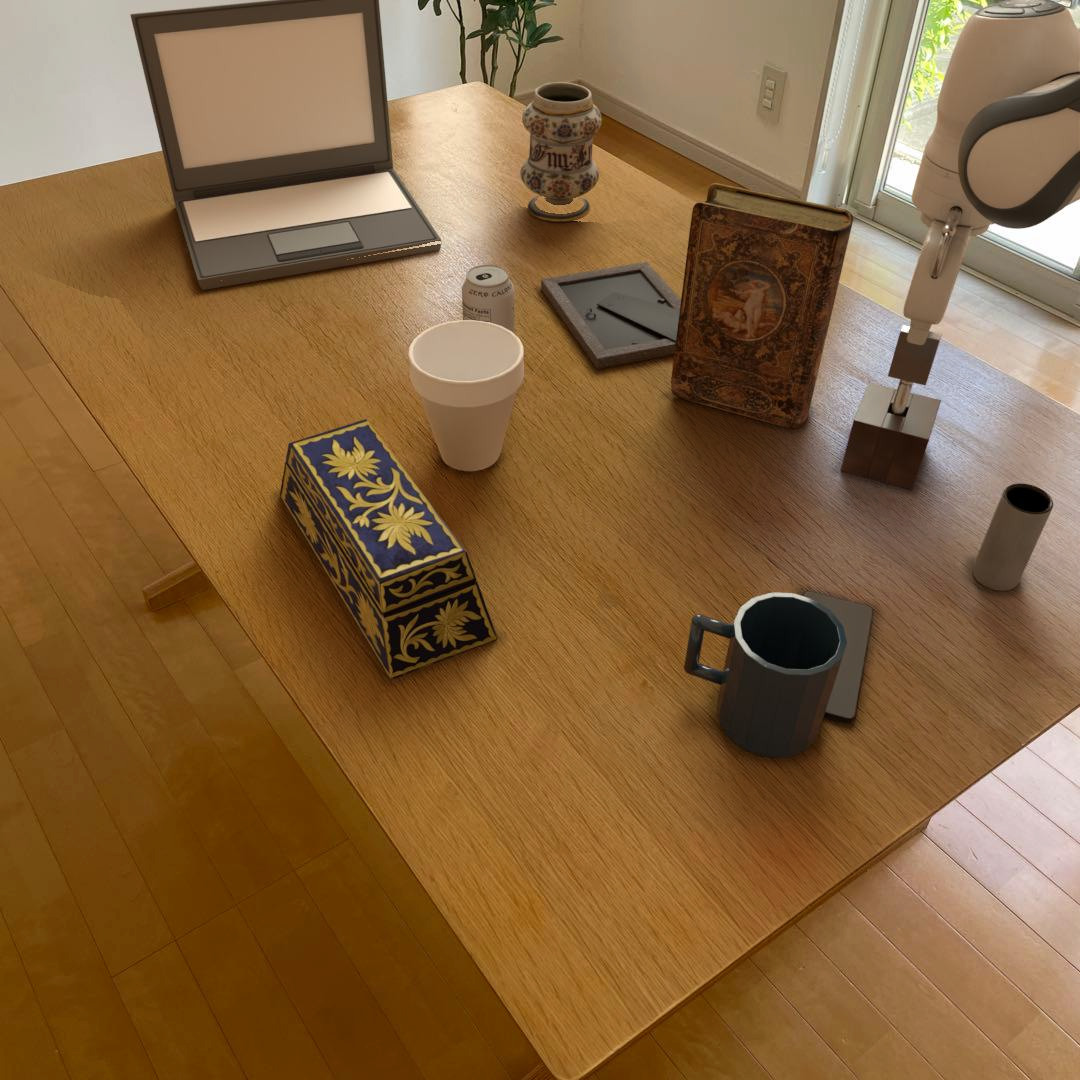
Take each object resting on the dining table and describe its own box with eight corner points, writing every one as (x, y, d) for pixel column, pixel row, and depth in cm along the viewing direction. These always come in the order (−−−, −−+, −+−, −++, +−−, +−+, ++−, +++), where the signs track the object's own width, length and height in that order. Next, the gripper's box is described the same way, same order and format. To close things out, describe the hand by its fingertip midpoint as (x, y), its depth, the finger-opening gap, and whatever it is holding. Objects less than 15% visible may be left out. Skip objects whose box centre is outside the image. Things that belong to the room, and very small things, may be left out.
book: (812, 407, 127) (858, 212, 110) (800, 432, 123) (845, 233, 106) (684, 373, 132) (708, 181, 115) (669, 395, 128) (692, 201, 111)
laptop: (200, 290, 145) (151, 79, 126) (175, 207, 164) (129, 12, 145) (441, 249, 155) (430, 48, 136) (392, 175, 174) (376, -12, 154)
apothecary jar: (612, 208, 166) (620, 91, 153) (561, 233, 159) (564, 113, 147) (556, 185, 172) (559, 70, 159) (504, 208, 165) (503, 91, 153)
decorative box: (371, 464, 118) (362, 398, 112) (497, 639, 99) (496, 571, 93) (279, 494, 114) (265, 427, 108) (392, 682, 95) (383, 614, 89)
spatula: (901, 461, 120) (942, 333, 108) (899, 468, 119) (940, 340, 107) (866, 452, 121) (902, 324, 109) (864, 458, 120) (900, 331, 108)
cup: (420, 491, 115) (411, 387, 105) (412, 424, 123) (403, 323, 114) (531, 481, 116) (532, 378, 107) (516, 416, 125) (515, 315, 116)
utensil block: (924, 449, 121) (941, 399, 116) (912, 490, 116) (929, 439, 111) (855, 431, 124) (869, 382, 119) (840, 470, 118) (853, 420, 113)
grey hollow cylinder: (975, 554, 108) (1006, 477, 101) (1021, 568, 107) (1056, 491, 100) (968, 582, 105) (999, 504, 98) (1015, 597, 104) (1050, 519, 97)
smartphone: (874, 606, 102) (854, 721, 92) (872, 612, 103) (852, 727, 92) (803, 588, 104) (776, 699, 93) (802, 595, 105) (774, 705, 94)
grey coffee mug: (830, 696, 95) (857, 612, 87) (805, 772, 89) (832, 689, 81) (696, 651, 98) (711, 566, 91) (664, 721, 92) (677, 637, 85)
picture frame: (711, 347, 137) (646, 271, 151) (713, 333, 135) (647, 258, 150) (596, 369, 132) (541, 289, 147) (597, 355, 131) (541, 276, 146)
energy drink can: (523, 389, 129) (523, 279, 119) (480, 404, 127) (477, 293, 116) (499, 366, 133) (497, 257, 123) (457, 379, 130) (451, 270, 120)
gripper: (984, 243, 90) (939, 378, 99) (1012, 154, 104) (970, 280, 113) (909, 227, 92) (872, 361, 101) (946, 142, 105) (910, 267, 115)
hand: (924, 318), depth 107 cm, fingers open, 8 cm apart
